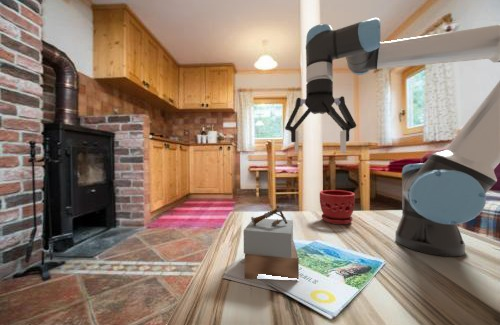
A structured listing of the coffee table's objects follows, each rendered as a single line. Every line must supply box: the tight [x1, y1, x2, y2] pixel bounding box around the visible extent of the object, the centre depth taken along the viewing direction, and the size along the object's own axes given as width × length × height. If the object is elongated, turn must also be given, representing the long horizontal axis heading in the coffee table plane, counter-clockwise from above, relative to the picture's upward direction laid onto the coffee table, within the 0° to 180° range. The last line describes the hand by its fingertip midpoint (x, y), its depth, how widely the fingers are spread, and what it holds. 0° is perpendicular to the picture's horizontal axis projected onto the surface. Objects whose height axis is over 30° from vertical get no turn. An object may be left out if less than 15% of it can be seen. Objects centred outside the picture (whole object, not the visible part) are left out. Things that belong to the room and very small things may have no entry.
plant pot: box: [319, 189, 356, 225], centre depth 85 cm, size 13×13×12 cm
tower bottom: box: [244, 240, 300, 280], centre depth 49 cm, size 11×11×5 cm
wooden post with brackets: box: [250, 205, 287, 226], centre depth 48 cm, size 2×8×4 cm, turn 87°
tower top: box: [243, 218, 294, 258], centre depth 49 cm, size 10×10×5 cm
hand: (319, 153), depth 63 cm, fingers open, 13 cm apart
